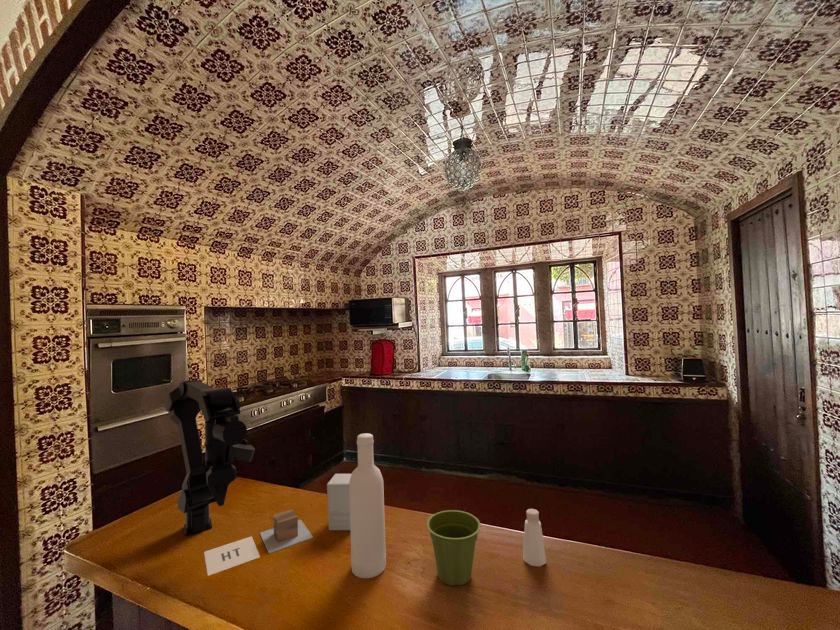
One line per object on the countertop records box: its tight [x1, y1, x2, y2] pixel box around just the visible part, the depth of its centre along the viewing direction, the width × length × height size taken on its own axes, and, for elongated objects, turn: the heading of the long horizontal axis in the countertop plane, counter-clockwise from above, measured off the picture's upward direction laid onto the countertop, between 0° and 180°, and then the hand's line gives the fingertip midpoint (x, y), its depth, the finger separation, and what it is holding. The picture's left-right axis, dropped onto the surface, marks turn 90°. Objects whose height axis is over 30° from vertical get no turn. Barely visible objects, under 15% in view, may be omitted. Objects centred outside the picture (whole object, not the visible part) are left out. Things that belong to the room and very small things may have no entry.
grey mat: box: [259, 519, 314, 555], centre depth 97 cm, size 11×11×1 cm
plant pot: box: [426, 509, 482, 586], centre depth 80 cm, size 12×12×11 cm
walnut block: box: [273, 508, 299, 543], centre depth 97 cm, size 5×5×5 cm
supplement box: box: [326, 473, 352, 531], centre depth 102 cm, size 7×7×13 cm
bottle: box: [349, 432, 387, 579], centre depth 84 cm, size 8×8×30 cm
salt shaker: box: [522, 508, 547, 567], centre depth 84 cm, size 5×5×11 cm
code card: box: [203, 536, 261, 577], centre depth 90 cm, size 11×11×1 cm
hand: (219, 498), depth 94 cm, fingers open, 9 cm apart
